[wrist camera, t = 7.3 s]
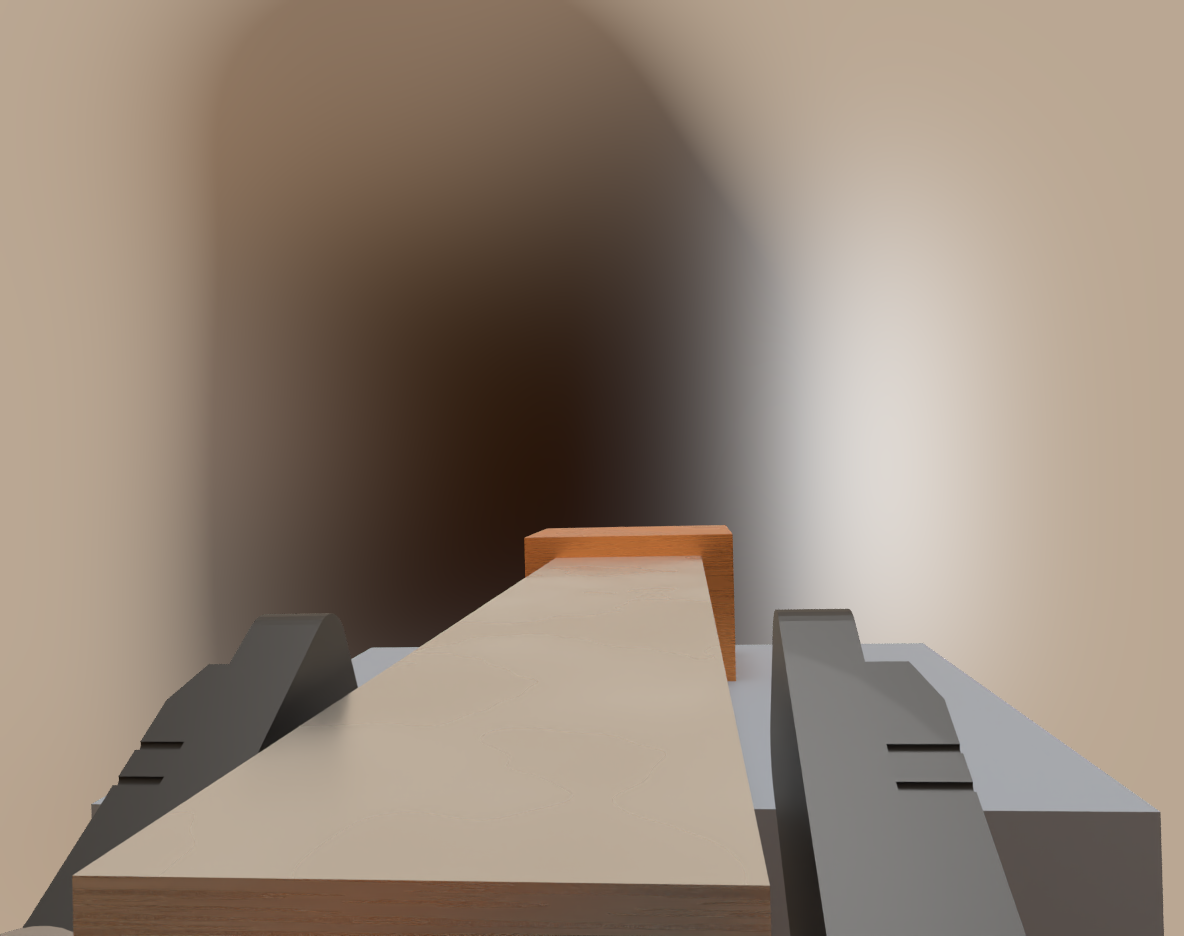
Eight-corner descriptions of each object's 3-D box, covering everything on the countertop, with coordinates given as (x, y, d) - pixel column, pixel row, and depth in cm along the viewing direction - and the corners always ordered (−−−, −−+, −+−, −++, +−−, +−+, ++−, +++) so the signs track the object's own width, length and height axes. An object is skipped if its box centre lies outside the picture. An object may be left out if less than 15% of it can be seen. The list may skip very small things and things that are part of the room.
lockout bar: (554, 646, 29) (552, 526, 29) (727, 644, 28) (724, 523, 29) (-55, 1461, 5) (-68, 776, 5) (950, 1535, 5) (929, 781, 5)
